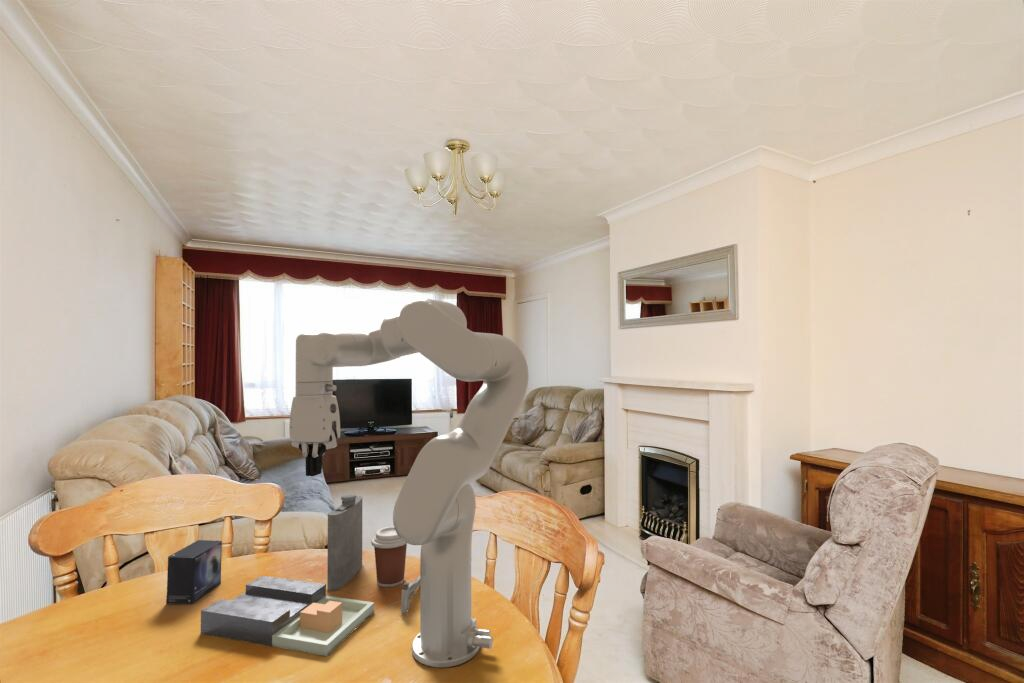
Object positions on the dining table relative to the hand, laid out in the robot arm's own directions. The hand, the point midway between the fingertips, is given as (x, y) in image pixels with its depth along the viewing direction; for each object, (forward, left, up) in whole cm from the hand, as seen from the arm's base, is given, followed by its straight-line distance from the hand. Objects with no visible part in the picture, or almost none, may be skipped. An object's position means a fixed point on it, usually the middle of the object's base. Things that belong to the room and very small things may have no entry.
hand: (313, 474), depth 106 cm
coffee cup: (-9, -17, -29) cm, 35 cm away
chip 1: (-4, +5, -29) cm, 29 cm away
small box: (+32, 0, -29) cm, 43 cm away
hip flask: (+3, -17, -29) cm, 34 cm away
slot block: (+7, +5, -29) cm, 30 cm away
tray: (-7, +5, -29) cm, 30 cm away
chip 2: (-6, +5, -27) cm, 28 cm away
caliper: (-18, -13, -30) cm, 37 cm away
